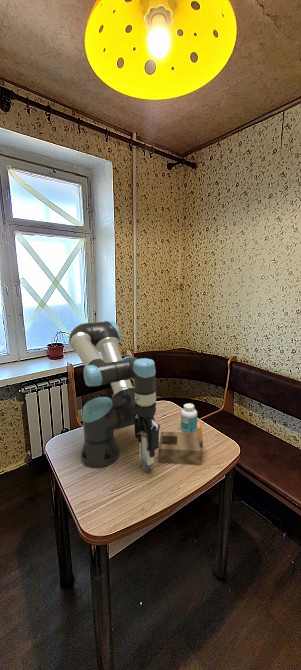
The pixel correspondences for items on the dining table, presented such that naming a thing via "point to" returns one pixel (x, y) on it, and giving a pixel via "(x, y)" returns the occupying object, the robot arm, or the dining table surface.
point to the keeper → (199, 431)
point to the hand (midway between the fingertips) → (146, 460)
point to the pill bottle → (189, 419)
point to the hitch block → (180, 448)
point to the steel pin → (144, 451)
